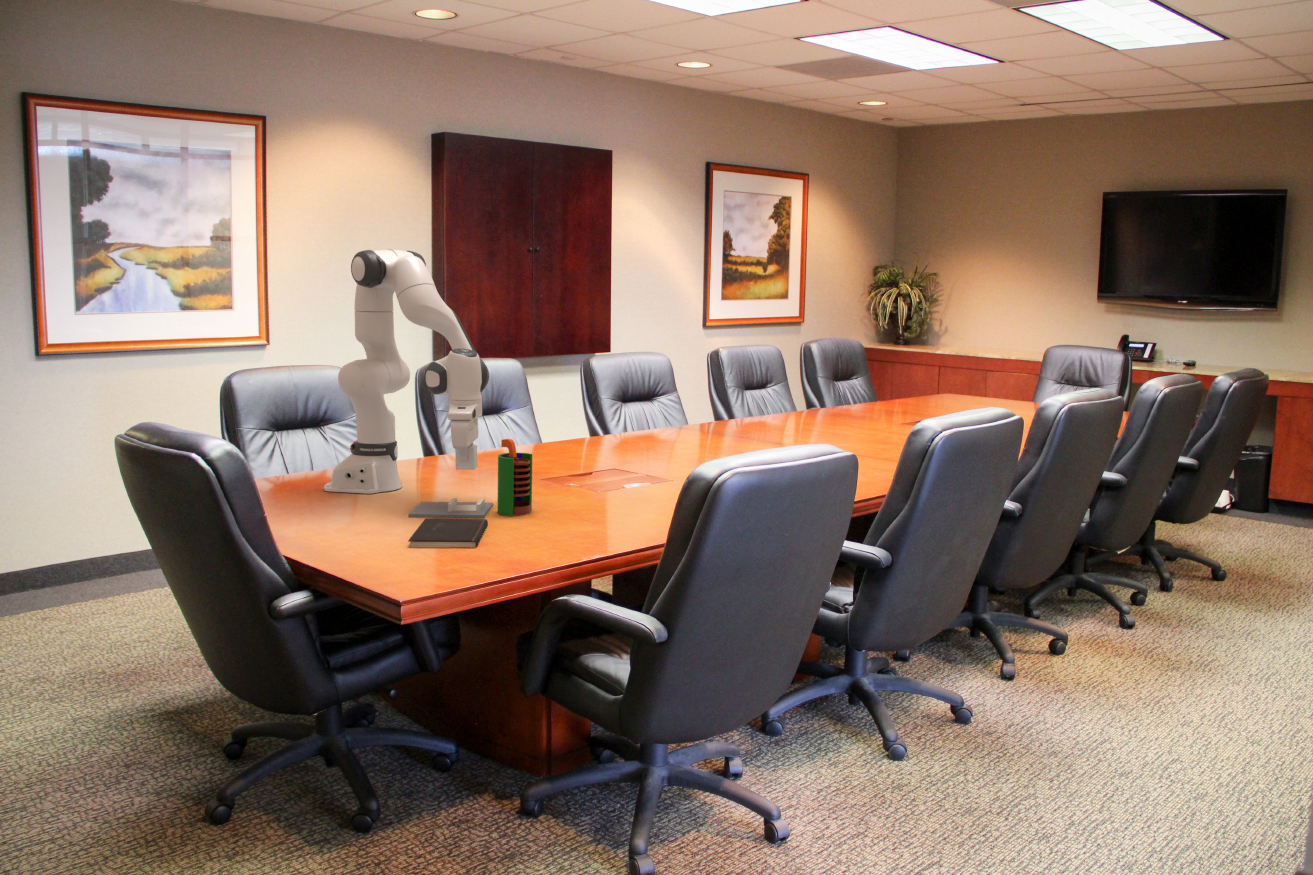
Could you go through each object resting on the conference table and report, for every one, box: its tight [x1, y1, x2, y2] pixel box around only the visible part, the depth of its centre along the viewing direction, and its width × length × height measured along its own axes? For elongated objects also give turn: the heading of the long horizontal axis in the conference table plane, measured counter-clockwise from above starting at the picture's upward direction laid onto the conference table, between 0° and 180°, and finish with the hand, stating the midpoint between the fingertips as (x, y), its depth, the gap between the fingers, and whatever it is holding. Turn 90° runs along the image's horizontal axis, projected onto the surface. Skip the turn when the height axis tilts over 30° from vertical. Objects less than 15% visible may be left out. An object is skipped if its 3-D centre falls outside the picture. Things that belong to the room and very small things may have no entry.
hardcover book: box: [407, 517, 489, 549], centre depth 262 cm, size 16×23×2 cm
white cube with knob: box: [454, 444, 478, 471], centre depth 287 cm, size 5×5×8 cm
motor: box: [497, 438, 533, 517], centre depth 288 cm, size 10×9×20 cm
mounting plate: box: [408, 497, 494, 519], centre depth 289 cm, size 20×16×3 cm
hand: (466, 460), depth 287 cm, fingers closed on white cube with knob, 5 cm apart
